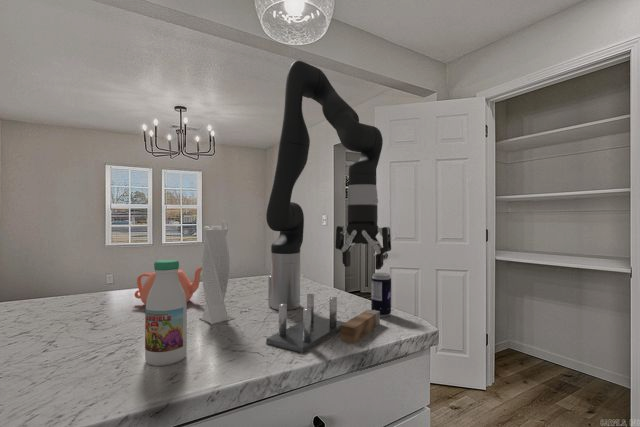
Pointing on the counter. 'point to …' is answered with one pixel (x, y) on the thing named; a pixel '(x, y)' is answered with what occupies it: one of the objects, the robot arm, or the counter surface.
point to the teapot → (184, 281)
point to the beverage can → (381, 293)
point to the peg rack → (305, 328)
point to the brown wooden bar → (360, 325)
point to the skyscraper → (215, 274)
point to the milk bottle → (166, 316)
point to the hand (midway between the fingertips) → (362, 267)
